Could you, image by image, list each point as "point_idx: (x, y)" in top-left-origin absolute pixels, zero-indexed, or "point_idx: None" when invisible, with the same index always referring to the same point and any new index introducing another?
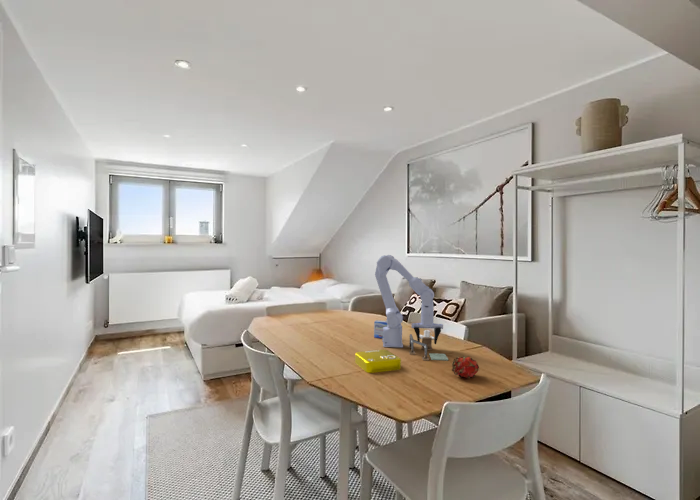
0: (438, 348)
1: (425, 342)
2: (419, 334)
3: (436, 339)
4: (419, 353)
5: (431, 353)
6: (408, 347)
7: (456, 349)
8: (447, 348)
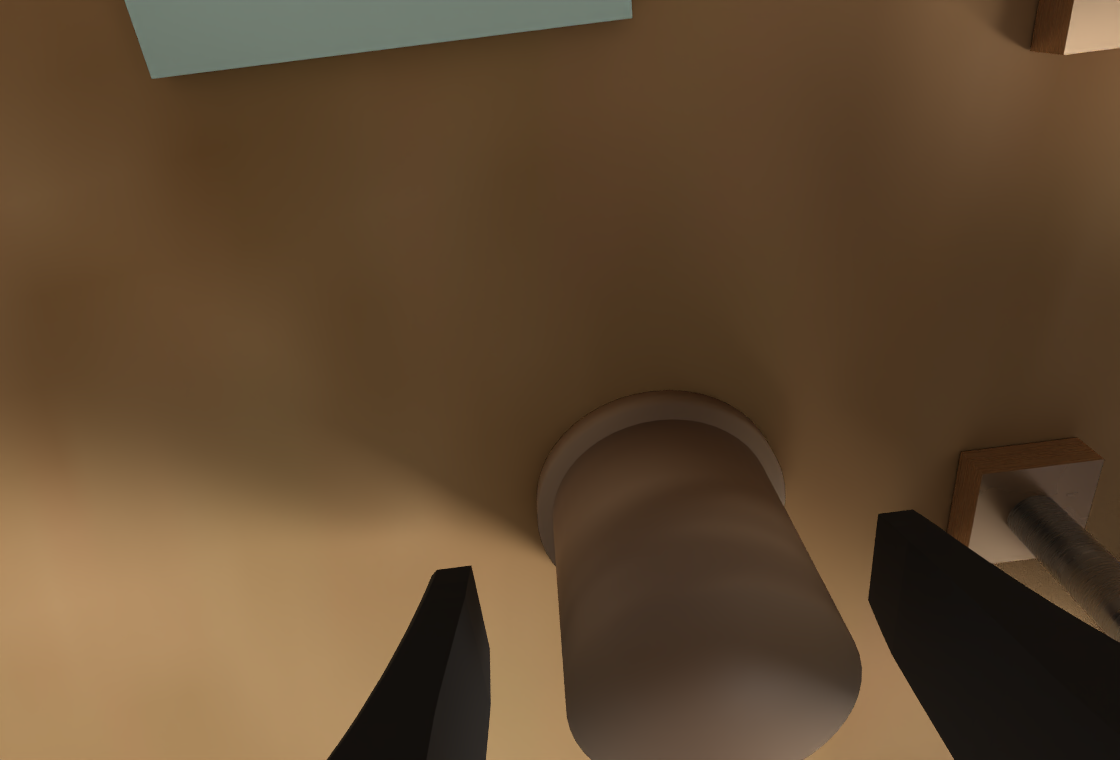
0: (399, 578)
1: (746, 520)
2: (1093, 707)
3: (408, 662)
4: (897, 51)
5: (563, 4)
6: (1082, 446)
7: (10, 604)
8: (212, 621)
